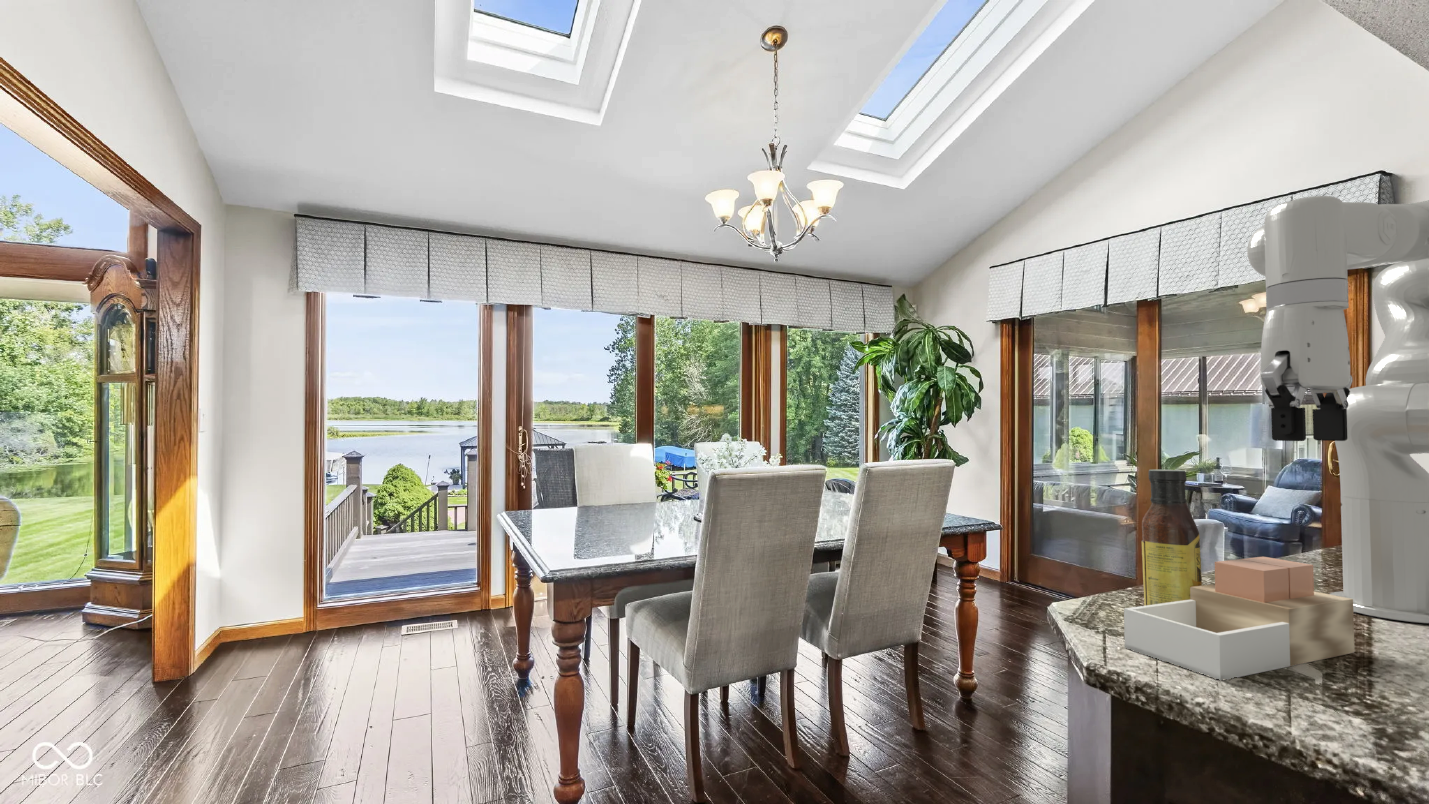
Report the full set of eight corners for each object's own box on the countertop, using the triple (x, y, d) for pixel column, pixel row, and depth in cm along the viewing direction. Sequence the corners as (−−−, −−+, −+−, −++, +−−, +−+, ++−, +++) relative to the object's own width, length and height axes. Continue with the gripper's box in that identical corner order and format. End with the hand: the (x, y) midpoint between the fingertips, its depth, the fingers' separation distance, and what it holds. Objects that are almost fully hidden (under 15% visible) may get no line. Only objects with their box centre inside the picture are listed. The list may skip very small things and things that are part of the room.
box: (1191, 636, 77) (1190, 599, 77) (1290, 666, 68) (1289, 623, 68) (1124, 648, 73) (1123, 608, 73) (1220, 680, 64) (1219, 635, 64)
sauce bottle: (1214, 632, 79) (1210, 472, 80) (1157, 629, 80) (1154, 471, 81) (1186, 617, 85) (1183, 468, 86) (1134, 614, 87) (1131, 467, 87)
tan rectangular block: (1253, 626, 82) (1252, 579, 82) (1354, 652, 72) (1353, 599, 73) (1191, 636, 77) (1190, 587, 78) (1290, 666, 68) (1288, 609, 68)
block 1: (1239, 588, 77) (1238, 559, 77) (1289, 599, 72) (1288, 567, 72) (1215, 591, 75) (1214, 561, 76) (1264, 602, 71) (1263, 570, 71)
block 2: (1264, 585, 79) (1263, 556, 79) (1314, 595, 74) (1313, 564, 74) (1240, 588, 77) (1240, 559, 77) (1290, 598, 72) (1289, 567, 73)
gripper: (1310, 309, 86) (1314, 439, 86) (1227, 300, 80) (1230, 440, 79) (1385, 299, 79) (1389, 441, 79) (1300, 288, 73) (1304, 441, 72)
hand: (1309, 439), depth 79 cm, fingers open, 7 cm apart
